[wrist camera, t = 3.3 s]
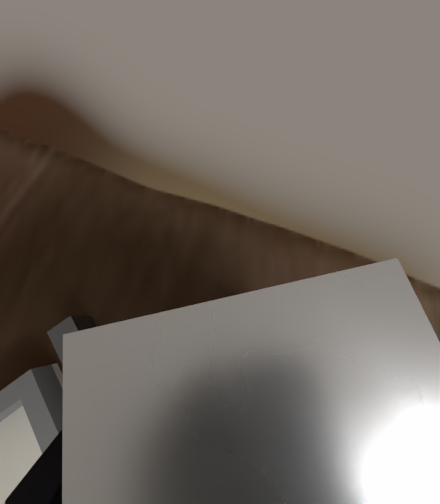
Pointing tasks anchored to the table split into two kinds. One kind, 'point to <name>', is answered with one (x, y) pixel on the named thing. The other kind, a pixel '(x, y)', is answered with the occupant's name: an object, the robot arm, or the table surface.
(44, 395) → the plate
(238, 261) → the table surface
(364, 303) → the block
